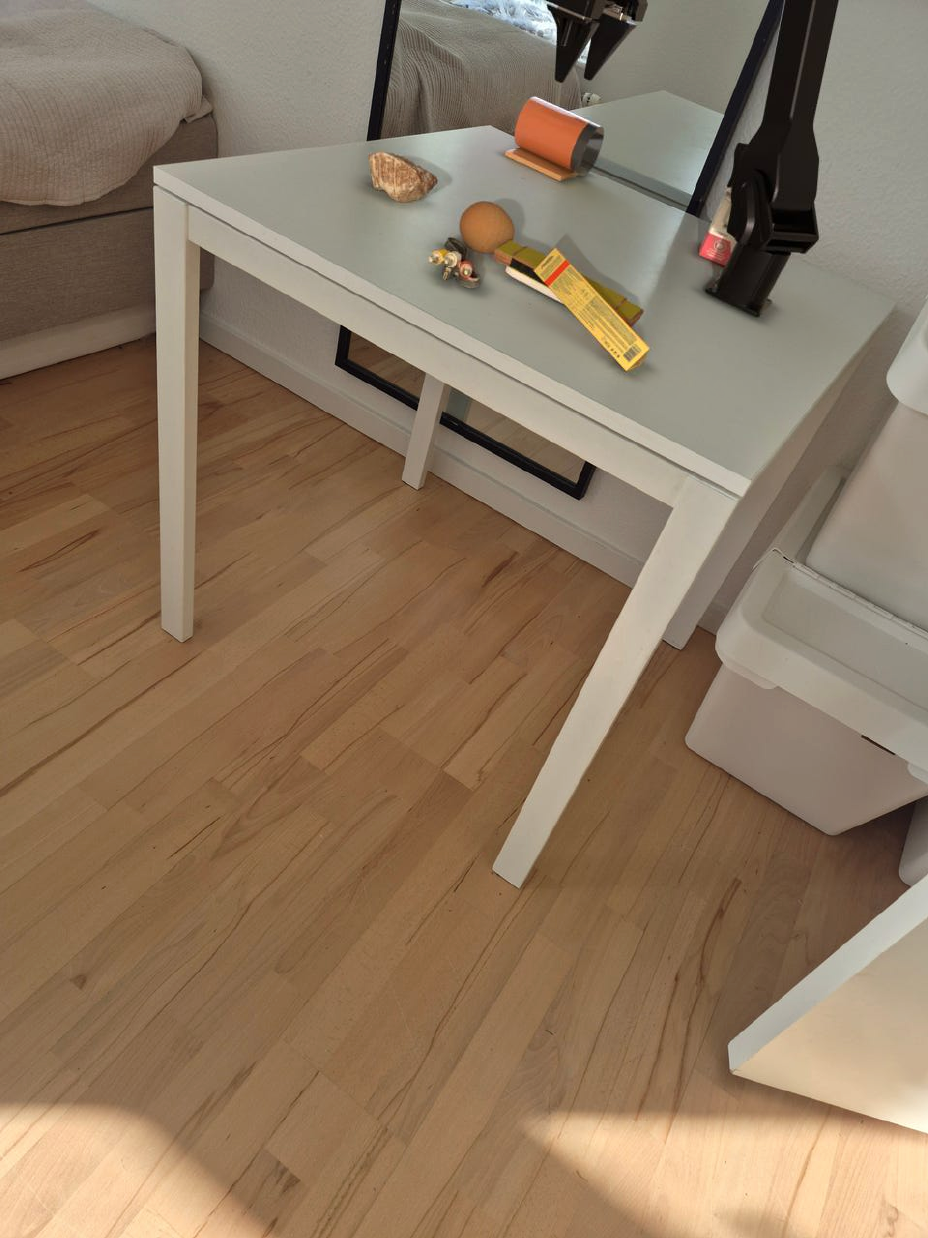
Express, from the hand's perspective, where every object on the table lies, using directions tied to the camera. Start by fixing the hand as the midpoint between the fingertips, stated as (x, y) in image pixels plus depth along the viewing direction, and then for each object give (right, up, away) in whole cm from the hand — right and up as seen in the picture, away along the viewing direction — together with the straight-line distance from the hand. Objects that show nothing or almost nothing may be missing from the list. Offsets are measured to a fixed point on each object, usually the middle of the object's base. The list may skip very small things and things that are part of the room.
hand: (573, 80), depth 103 cm
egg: (-14, -30, -26) cm, 42 cm away
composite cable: (-14, -36, -28) cm, 48 cm away
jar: (-2, -7, +6) cm, 9 cm away
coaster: (-3, -7, +7) cm, 10 cm away
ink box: (+19, -24, -3) cm, 31 cm away
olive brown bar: (-4, -36, -28) cm, 46 cm away
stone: (-21, -25, -19) cm, 38 cm away
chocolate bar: (-3, -41, -34) cm, 53 cm away
